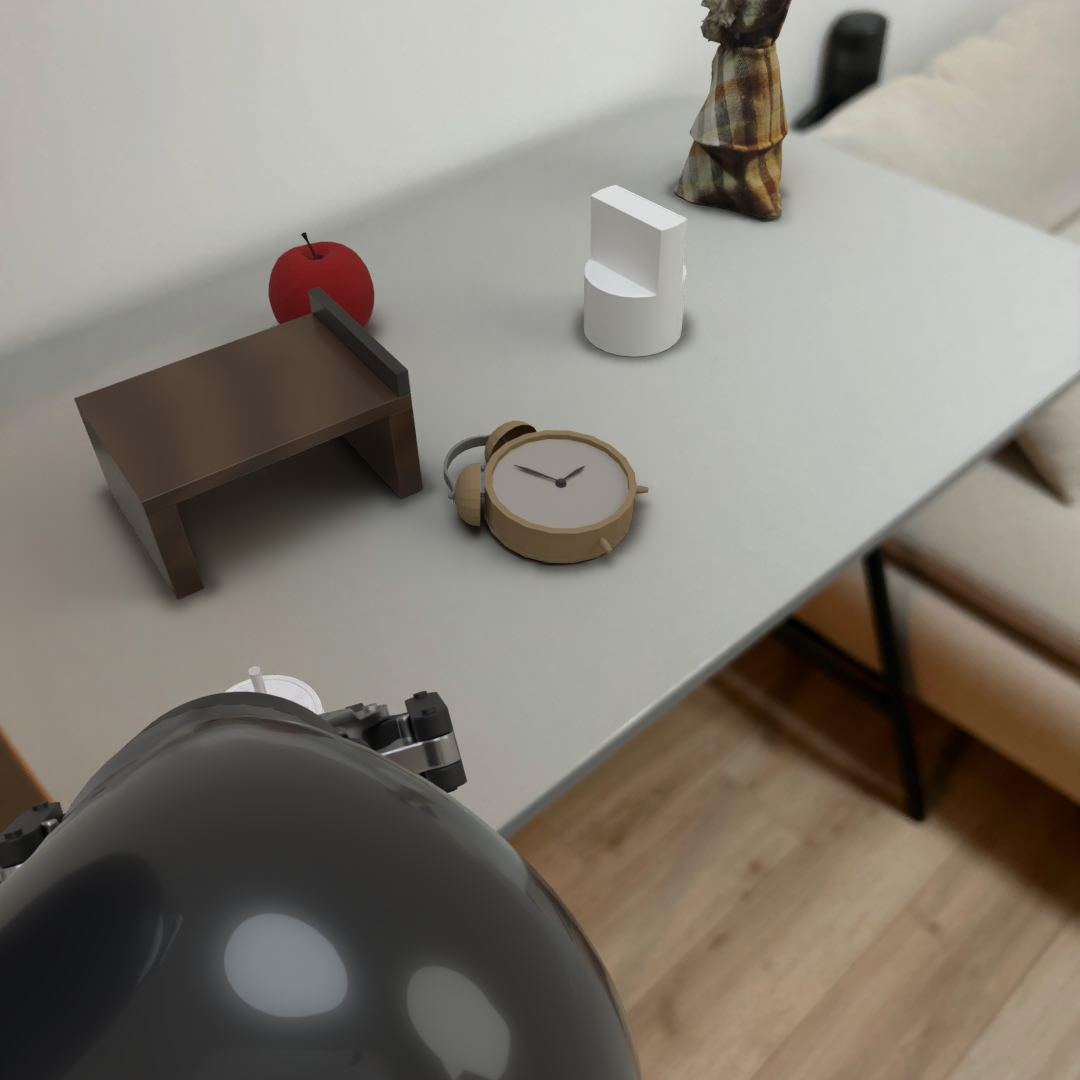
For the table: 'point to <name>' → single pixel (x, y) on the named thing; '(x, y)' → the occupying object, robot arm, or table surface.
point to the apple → (320, 281)
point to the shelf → (248, 421)
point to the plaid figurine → (740, 112)
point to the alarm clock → (547, 492)
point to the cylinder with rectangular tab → (634, 274)
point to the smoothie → (280, 689)
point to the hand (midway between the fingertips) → (252, 762)
